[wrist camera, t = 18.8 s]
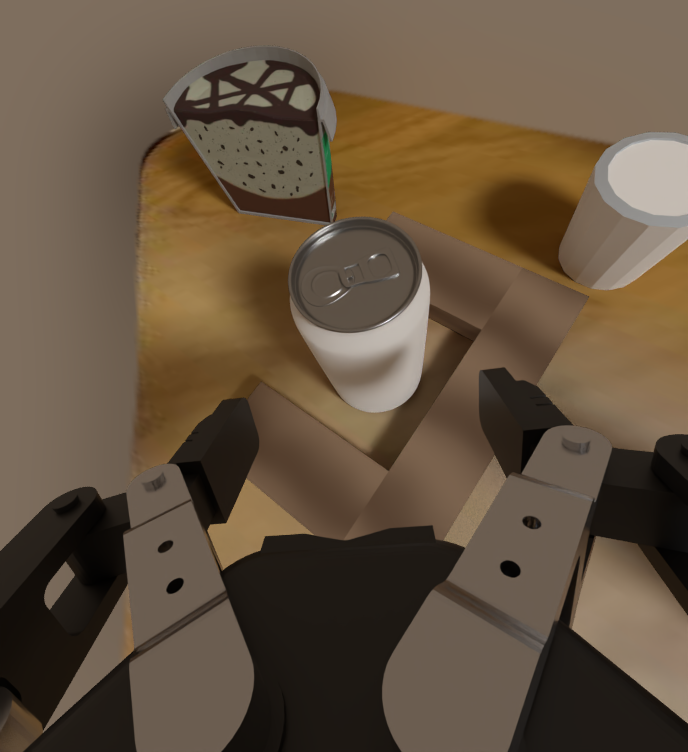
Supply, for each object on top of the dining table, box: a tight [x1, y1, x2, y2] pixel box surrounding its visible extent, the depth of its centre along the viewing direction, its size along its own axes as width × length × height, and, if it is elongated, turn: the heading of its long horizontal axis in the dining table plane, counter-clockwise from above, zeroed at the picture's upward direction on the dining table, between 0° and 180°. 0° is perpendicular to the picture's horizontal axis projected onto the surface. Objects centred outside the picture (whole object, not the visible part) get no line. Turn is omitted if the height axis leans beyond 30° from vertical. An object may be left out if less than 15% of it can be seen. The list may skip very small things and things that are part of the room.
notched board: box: [247, 212, 589, 540], centre depth 25 cm, size 22×15×2 cm
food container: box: [163, 45, 337, 225], centre depth 28 cm, size 12×6×10 cm, turn 73°
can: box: [288, 217, 430, 412], centre depth 21 cm, size 6×6×12 cm
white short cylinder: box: [558, 132, 688, 290], centre depth 23 cm, size 7×7×7 cm
